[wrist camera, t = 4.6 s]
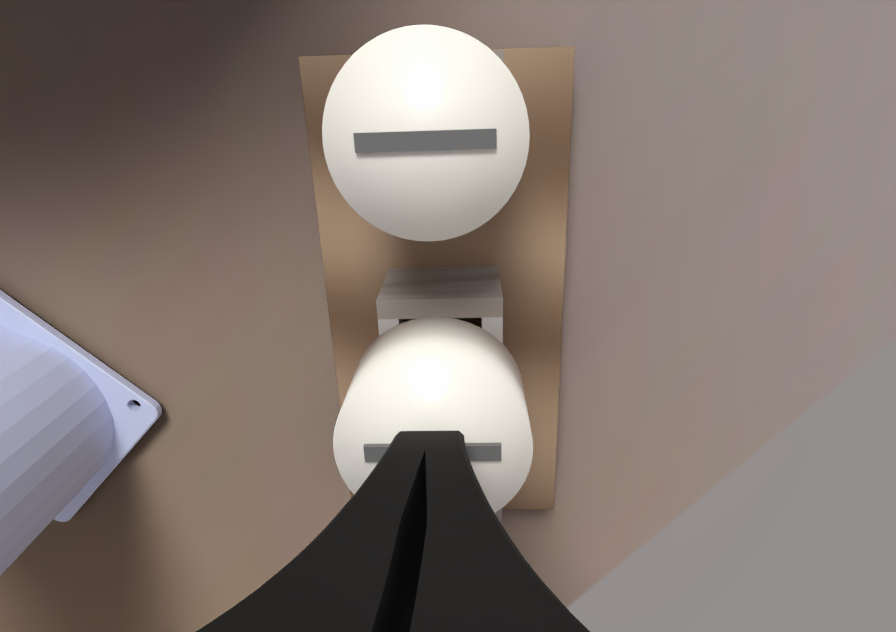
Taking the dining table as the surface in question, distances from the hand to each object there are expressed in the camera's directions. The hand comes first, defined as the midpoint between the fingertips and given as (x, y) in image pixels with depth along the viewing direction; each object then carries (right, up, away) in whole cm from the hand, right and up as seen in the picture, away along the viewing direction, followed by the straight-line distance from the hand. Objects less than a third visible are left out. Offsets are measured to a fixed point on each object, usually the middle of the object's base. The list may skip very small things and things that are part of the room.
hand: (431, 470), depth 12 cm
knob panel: (0, +4, +9) cm, 10 cm away
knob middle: (0, +2, +6) cm, 6 cm away
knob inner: (0, +9, +5) cm, 10 cm away
